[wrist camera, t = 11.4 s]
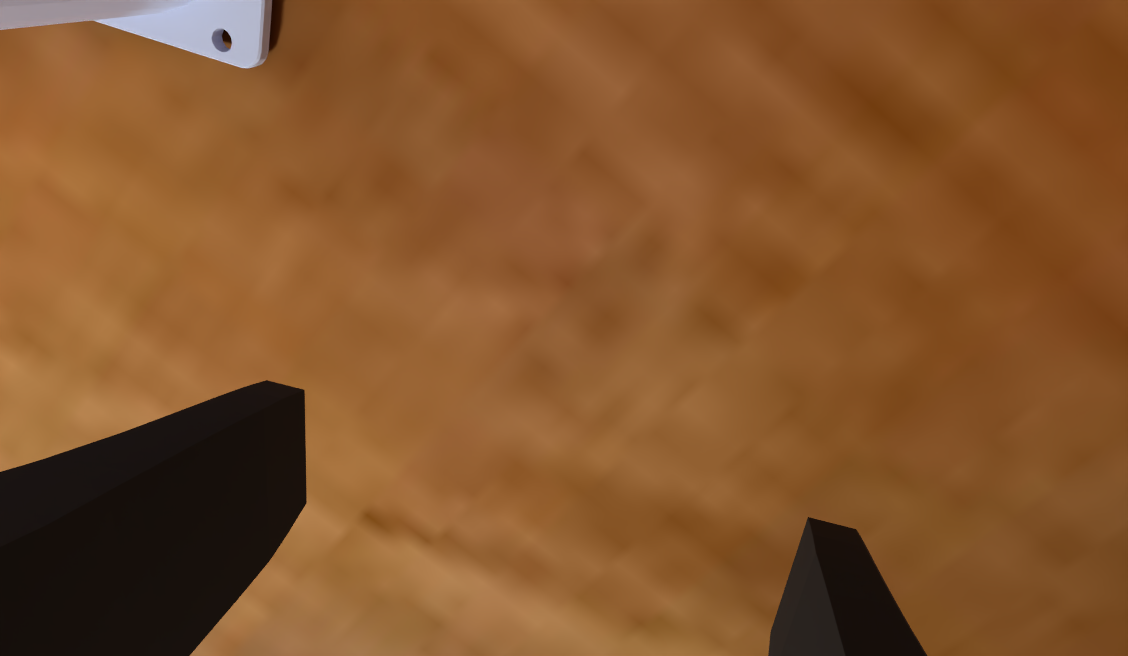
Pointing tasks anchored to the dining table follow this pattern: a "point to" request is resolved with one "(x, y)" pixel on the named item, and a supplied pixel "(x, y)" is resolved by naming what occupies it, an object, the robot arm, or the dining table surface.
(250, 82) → the dining table surface
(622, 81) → the dining table surface
